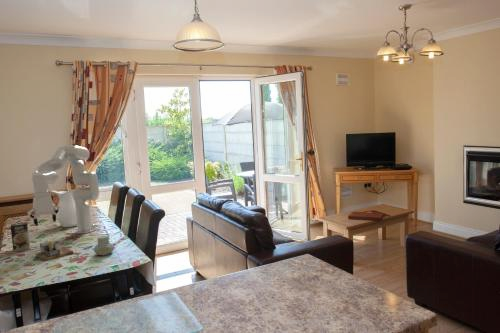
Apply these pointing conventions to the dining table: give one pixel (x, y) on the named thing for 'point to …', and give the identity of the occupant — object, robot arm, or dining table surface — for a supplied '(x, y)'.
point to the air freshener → (103, 246)
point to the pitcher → (66, 209)
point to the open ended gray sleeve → (45, 249)
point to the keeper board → (63, 252)
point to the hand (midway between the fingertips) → (45, 223)
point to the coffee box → (20, 236)
